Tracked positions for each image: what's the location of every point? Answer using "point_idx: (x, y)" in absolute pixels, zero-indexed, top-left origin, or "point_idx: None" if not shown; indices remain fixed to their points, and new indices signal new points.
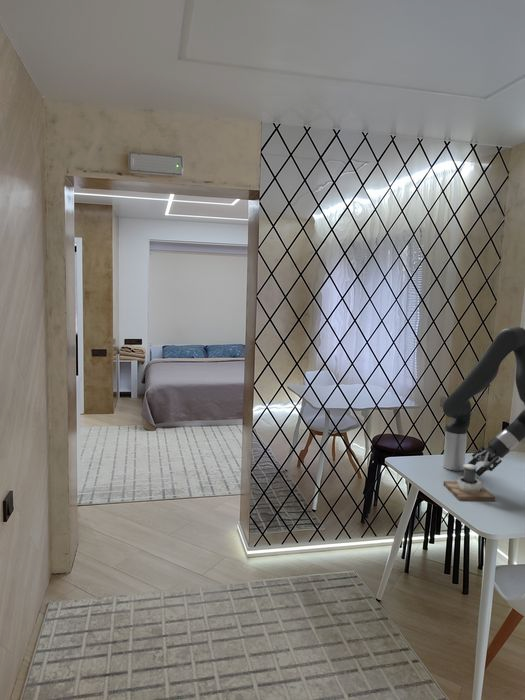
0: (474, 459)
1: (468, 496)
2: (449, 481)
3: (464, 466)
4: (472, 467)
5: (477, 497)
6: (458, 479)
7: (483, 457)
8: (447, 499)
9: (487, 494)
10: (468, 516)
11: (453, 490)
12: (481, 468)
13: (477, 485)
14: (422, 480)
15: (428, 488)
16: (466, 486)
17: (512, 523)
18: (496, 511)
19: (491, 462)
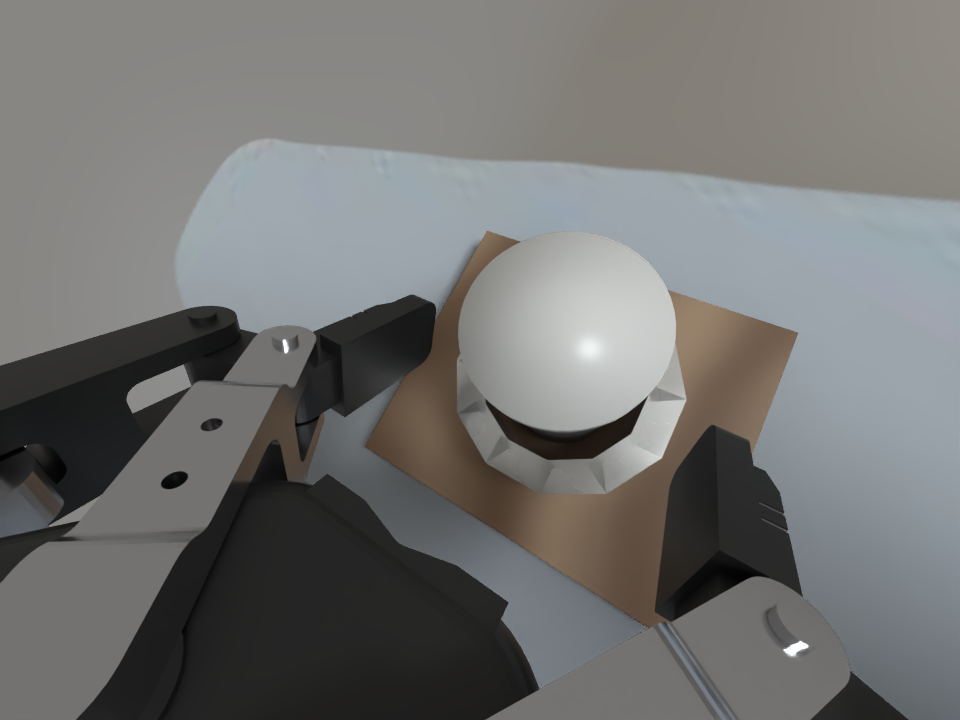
0: (717, 589)
1: (458, 283)
2: (775, 377)
3: (585, 235)
4: (489, 299)
5: None
6: None
7: (371, 566)
8: (535, 201)
9: (419, 437)
10: (348, 170)
11: None
12: (349, 330)
13: (460, 377)
14: (948, 257)
15: (743, 199)
16: None
17: (208, 293)
18: None
19: (79, 353)
